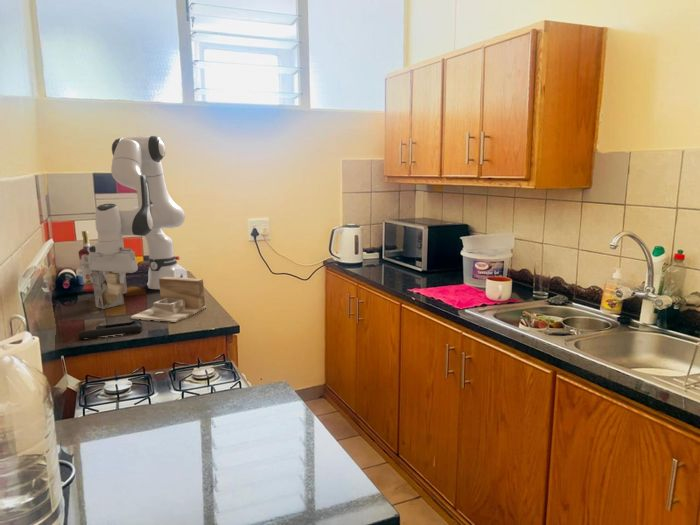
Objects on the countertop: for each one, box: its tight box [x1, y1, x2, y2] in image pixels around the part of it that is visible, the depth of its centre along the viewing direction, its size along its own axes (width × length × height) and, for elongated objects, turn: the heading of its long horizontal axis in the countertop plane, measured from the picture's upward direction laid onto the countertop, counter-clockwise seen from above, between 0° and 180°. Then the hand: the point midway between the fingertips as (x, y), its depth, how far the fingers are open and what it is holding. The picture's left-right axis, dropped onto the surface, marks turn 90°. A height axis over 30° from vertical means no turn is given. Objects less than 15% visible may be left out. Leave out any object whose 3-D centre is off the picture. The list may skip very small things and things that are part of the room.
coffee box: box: [91, 270, 125, 310], centre depth 219 cm, size 9×6×16 cm
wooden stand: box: [130, 277, 207, 322], centre depth 207 cm, size 20×20×12 cm
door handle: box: [77, 319, 143, 340], centre depth 187 cm, size 3×20×16 cm
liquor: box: [78, 230, 94, 293], centre depth 243 cm, size 7×7×28 cm
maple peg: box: [106, 272, 124, 295], centre depth 204 cm, size 4×4×8 cm
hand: (115, 282), depth 204 cm, fingers closed on maple peg, 4 cm apart
